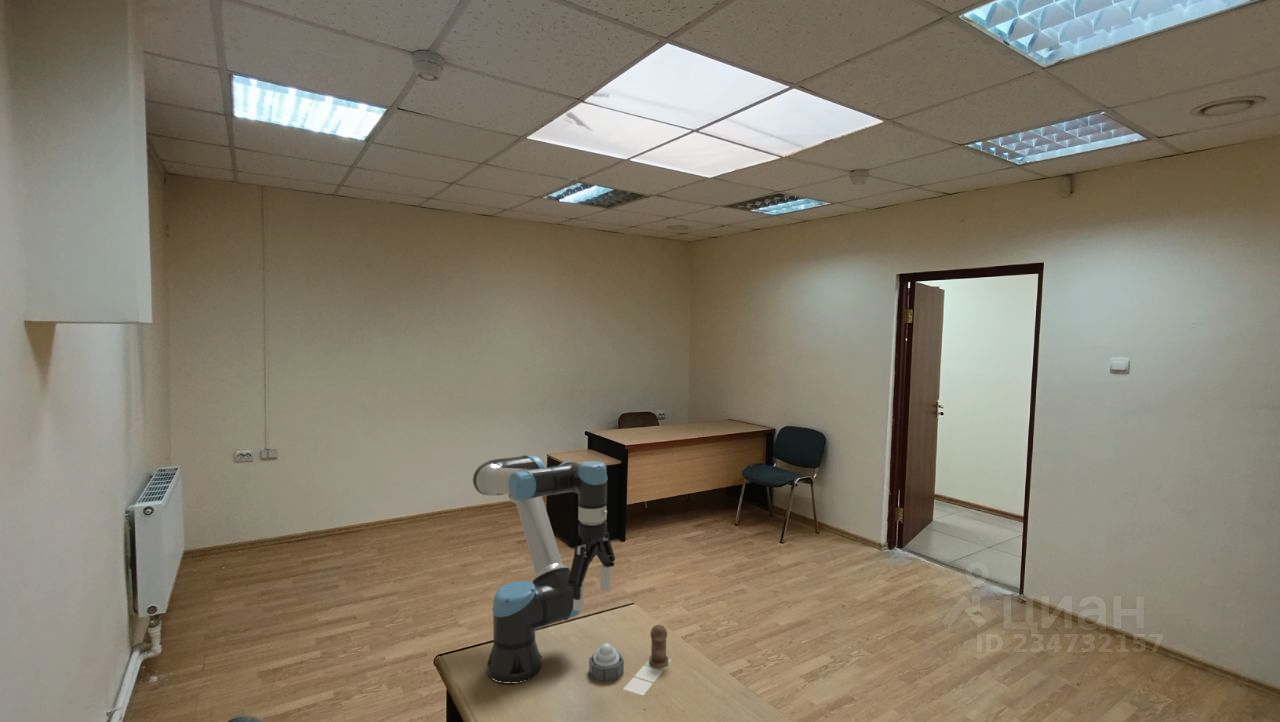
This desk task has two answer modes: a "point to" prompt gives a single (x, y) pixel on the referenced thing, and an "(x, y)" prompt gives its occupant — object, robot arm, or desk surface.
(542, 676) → the desk surface
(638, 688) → the game board
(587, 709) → the desk surface
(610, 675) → the dome base
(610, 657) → the pop-up dome
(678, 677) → the desk surface
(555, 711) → the desk surface
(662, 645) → the walnut pawn
